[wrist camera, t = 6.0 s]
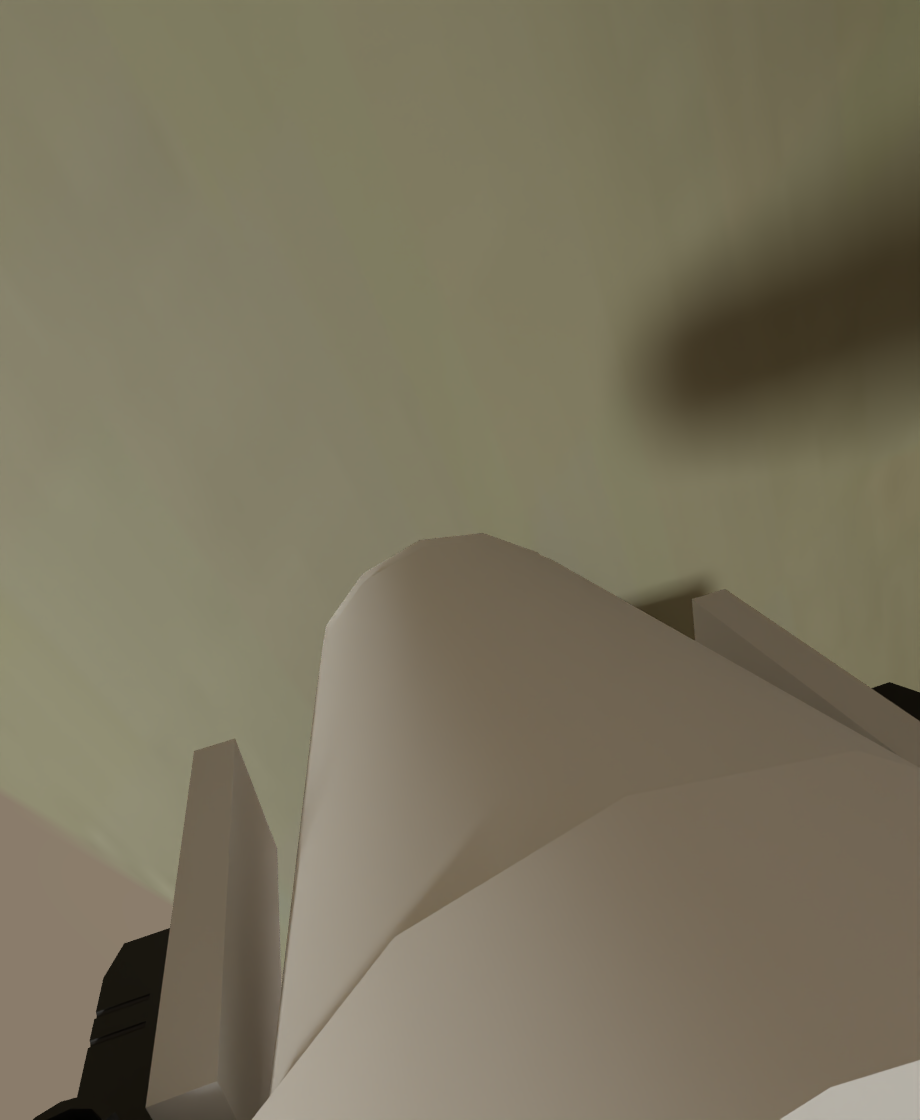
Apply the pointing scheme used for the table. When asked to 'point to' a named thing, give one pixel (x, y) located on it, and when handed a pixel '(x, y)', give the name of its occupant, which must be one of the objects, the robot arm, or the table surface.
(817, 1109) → the foam cup
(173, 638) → the table surface
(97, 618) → the table surface
